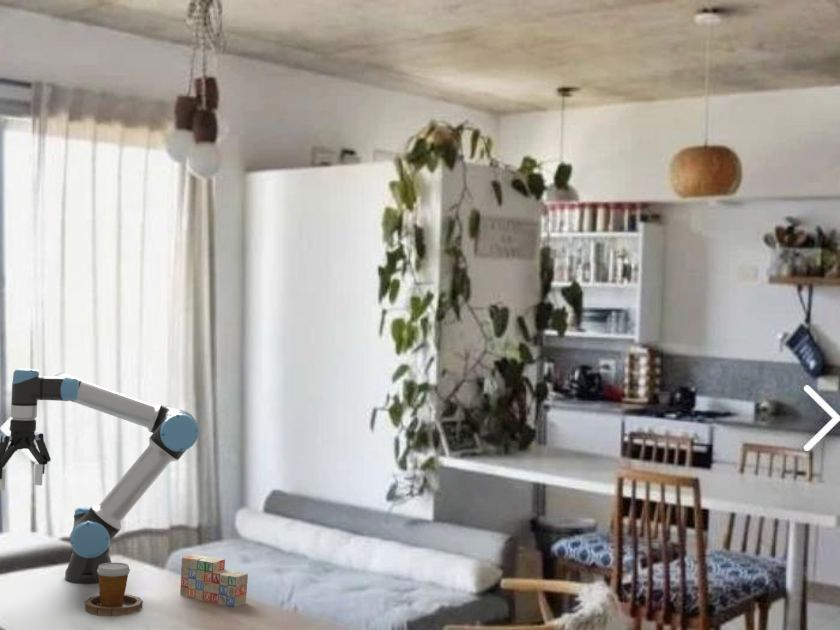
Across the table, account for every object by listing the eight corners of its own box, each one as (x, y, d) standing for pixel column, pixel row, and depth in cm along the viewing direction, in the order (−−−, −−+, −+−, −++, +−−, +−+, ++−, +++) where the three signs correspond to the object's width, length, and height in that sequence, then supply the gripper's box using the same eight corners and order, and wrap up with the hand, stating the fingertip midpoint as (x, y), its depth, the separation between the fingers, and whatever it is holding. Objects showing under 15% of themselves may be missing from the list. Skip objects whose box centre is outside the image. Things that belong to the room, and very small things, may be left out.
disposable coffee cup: (120, 611, 305) (122, 570, 305) (89, 608, 306) (91, 568, 306) (133, 603, 314) (135, 563, 314) (103, 600, 315) (105, 560, 316)
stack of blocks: (246, 603, 322) (249, 563, 322) (234, 607, 316) (236, 567, 316) (192, 591, 332) (194, 553, 332) (179, 595, 326) (181, 556, 326)
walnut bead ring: (116, 597, 319) (116, 591, 319) (152, 607, 311) (153, 601, 311) (73, 608, 306) (74, 601, 306) (111, 618, 297) (111, 611, 297)
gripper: (48, 415, 335) (45, 481, 335) (-20, 419, 314) (-24, 490, 314) (64, 417, 331) (60, 484, 331) (-4, 422, 310) (-8, 493, 310)
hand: (19, 487), depth 322 cm, fingers open, 13 cm apart
